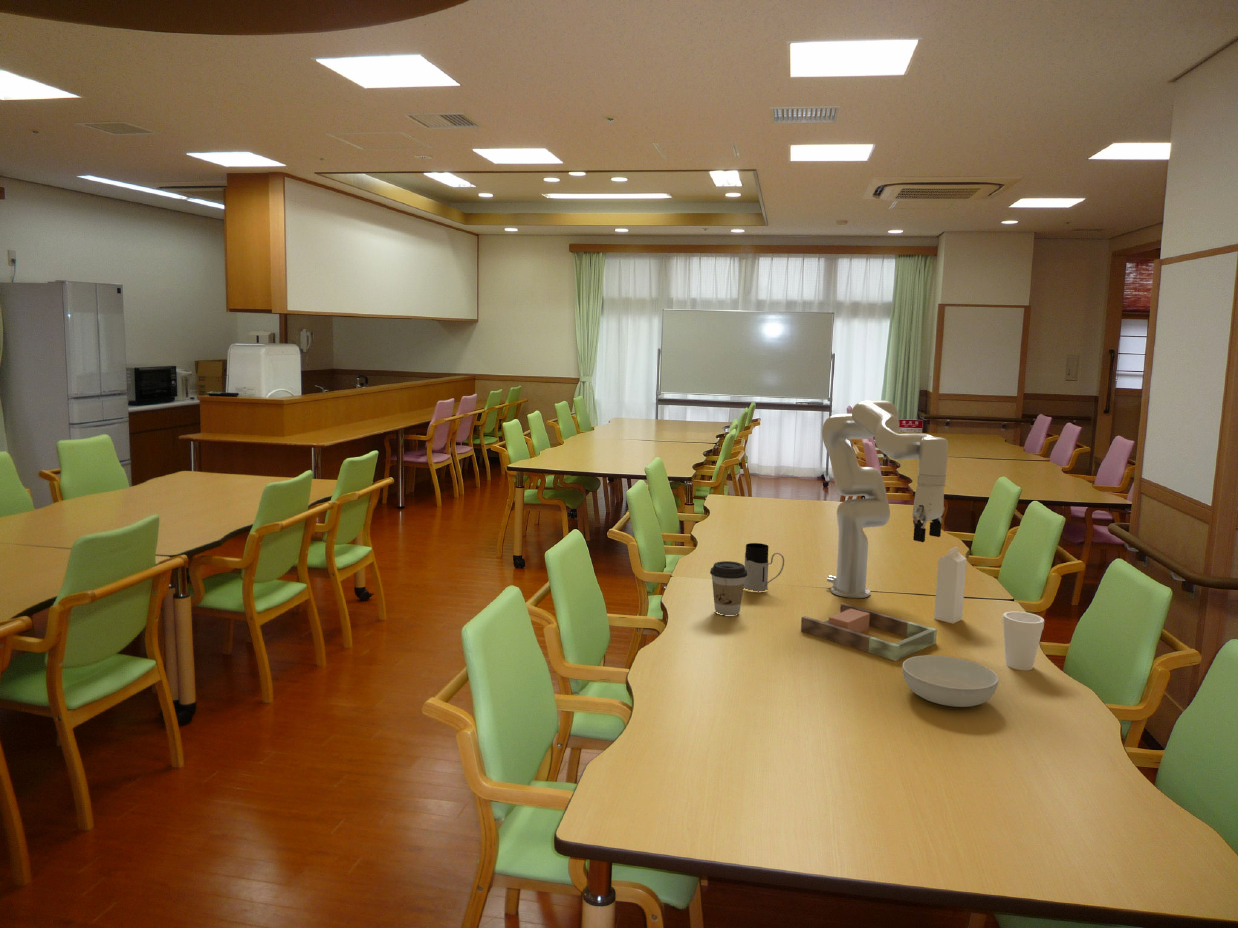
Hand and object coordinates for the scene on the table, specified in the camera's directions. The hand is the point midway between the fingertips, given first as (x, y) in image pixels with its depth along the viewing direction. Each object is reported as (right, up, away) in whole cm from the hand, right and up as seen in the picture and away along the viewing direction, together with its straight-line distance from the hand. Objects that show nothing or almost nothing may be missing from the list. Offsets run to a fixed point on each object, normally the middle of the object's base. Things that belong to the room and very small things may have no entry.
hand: (926, 538), depth 238 cm
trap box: (-19, -27, -5) cm, 34 cm away
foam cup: (+15, -31, -25) cm, 42 cm away
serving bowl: (-12, -33, -46) cm, 58 cm away
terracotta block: (-23, -27, -1) cm, 35 cm away
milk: (+11, -26, +11) cm, 30 cm away
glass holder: (-41, -21, +37) cm, 59 cm away
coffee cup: (-56, -24, +14) cm, 62 cm away
